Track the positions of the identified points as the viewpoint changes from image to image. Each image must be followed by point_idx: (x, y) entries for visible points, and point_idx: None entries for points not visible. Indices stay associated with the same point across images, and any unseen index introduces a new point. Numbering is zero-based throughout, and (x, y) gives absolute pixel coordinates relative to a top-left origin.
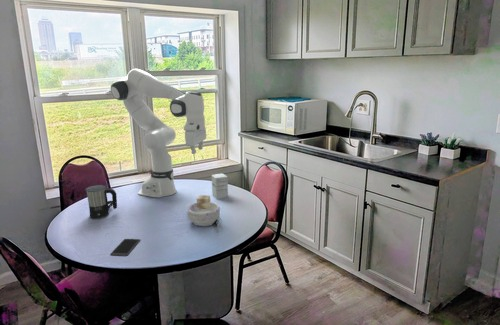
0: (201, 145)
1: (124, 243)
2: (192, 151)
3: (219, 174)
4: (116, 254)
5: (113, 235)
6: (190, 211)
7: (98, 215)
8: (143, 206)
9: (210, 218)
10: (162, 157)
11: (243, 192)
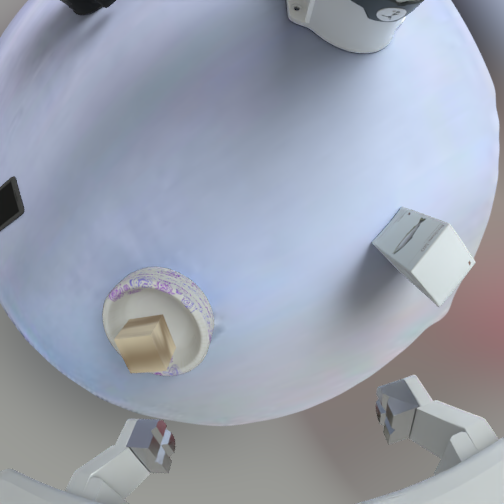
0: (416, 437)
1: (3, 195)
2: (124, 442)
3: (459, 259)
4: None
5: (17, 133)
6: (103, 308)
7: (72, 9)
8: (192, 28)
9: None
10: None
11: None
